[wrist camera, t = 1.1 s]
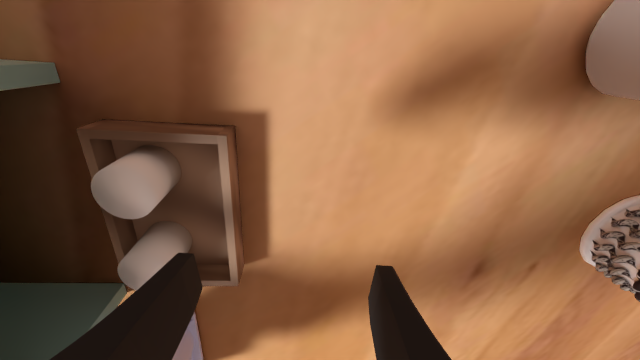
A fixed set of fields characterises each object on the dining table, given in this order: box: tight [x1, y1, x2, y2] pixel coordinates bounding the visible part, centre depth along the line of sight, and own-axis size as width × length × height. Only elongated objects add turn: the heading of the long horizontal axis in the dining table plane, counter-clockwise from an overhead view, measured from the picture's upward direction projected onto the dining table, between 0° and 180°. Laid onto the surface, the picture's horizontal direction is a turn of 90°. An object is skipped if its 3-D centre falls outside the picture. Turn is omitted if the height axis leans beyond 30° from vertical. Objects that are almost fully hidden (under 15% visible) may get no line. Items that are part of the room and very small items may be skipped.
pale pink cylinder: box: [91, 145, 181, 219], centre depth 18 cm, size 4×4×4 cm
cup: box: [117, 221, 192, 291], centre depth 21 cm, size 4×4×4 cm
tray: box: [76, 119, 244, 286], centre depth 21 cm, size 13×9×2 cm
